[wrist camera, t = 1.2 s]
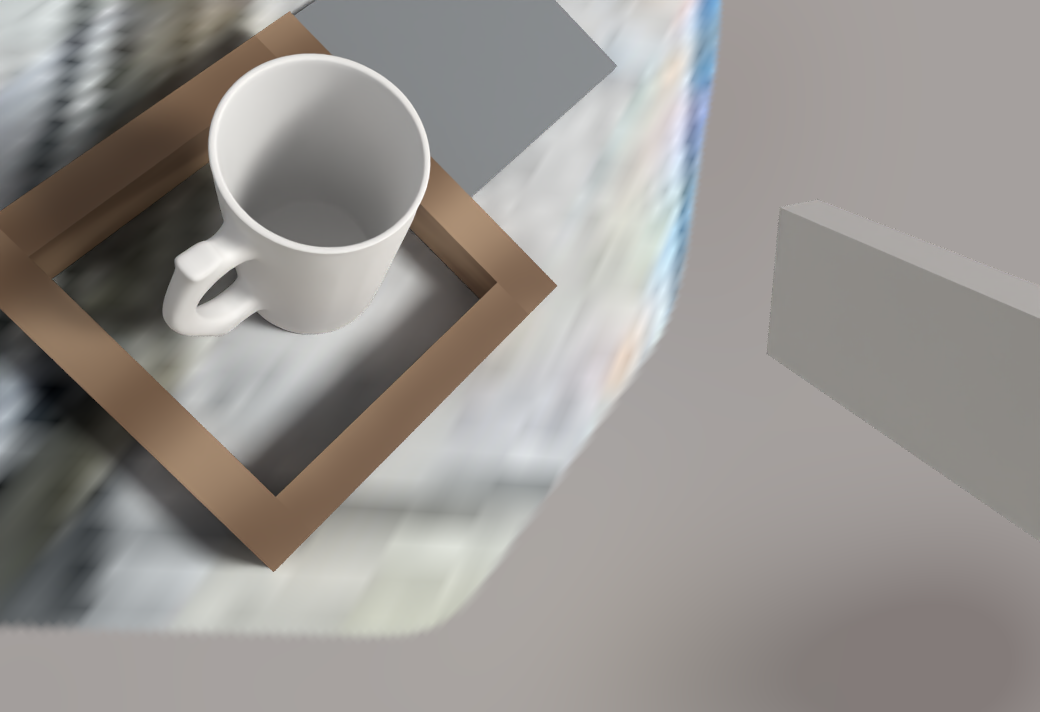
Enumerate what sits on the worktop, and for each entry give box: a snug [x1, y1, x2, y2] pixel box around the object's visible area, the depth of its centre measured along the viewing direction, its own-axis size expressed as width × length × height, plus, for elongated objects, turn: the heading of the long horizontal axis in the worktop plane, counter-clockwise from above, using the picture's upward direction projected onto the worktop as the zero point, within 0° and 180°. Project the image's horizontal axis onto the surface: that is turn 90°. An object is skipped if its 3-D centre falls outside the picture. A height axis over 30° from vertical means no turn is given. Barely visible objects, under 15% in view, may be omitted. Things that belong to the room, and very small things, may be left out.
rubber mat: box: [294, 0, 617, 197], centre depth 40 cm, size 12×12×1 cm
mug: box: [163, 54, 430, 336], centre depth 30 cm, size 10×7×12 cm, turn 134°
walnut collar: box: [0, 11, 557, 572], centre depth 34 cm, size 17×17×3 cm
